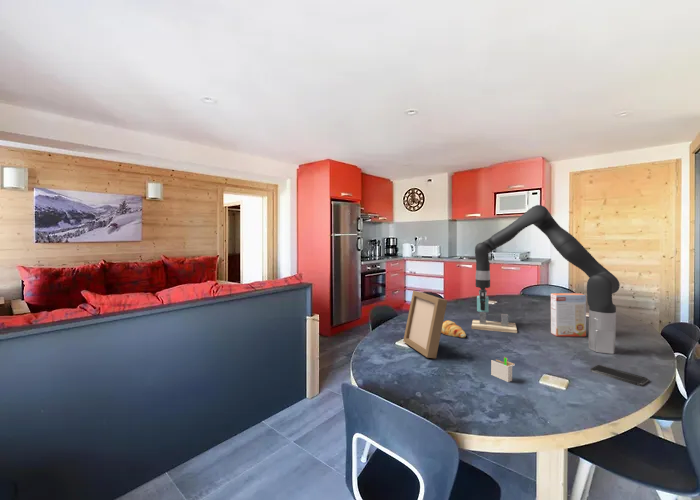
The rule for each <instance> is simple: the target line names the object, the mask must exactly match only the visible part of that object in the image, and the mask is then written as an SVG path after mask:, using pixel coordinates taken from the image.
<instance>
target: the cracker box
mask: <svg viewBox="0 0 700 500" xmlns="http://www.w3.org/2000/svg"><path fill="white" fill-rule="evenodd" d="M550 334H552V335H553V336H555V337H586V336H587V294H584V293H582V292H557V293H555V292H554V293H553V292H552V293H550Z"/></svg>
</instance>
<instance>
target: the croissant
mask: <svg viewBox="0 0 700 500" xmlns="http://www.w3.org/2000/svg"><path fill="white" fill-rule="evenodd" d="M441 334H443V335H445V336H450V337H456V338H458V337H459V338H461V339H462V338H466V336H467V334H466V331H464V330H463V328H462V327H461V326H460V325H458V324H456V323H455V322H454V321H452V320H448V319H446V320H445V321H443V326H442V331H441Z"/></svg>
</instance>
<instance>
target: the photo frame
mask: <svg viewBox="0 0 700 500" xmlns="http://www.w3.org/2000/svg"><path fill="white" fill-rule="evenodd" d="M409 304H410V305H409V311H408V314H407V320H406V325H405V330H404V336H403V342H404V343H405V344H406V345H407V346H410V347H411V348H412V349H413V350H415V351H417V352H418V353H420V354H421V355H422V356H424V357H426V358H428V359H429V358H430V359H437V355H438V352H439V351H438V350H439V345H440V342H441V341H440V340H441V334H442V333H441V331H442V326H443V322H444V319H445V315H446V309H447V305H448V300H447V299H444V298H441V297H437V296H434V295H432V294H428V293H425V292H422V291H417V290H412V296H411V300H410V303H409Z"/></svg>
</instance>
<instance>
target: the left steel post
mask: <svg viewBox="0 0 700 500" xmlns="http://www.w3.org/2000/svg"><path fill="white" fill-rule="evenodd" d="M479 320H480V324H484V325H486V321H487V312H479Z"/></svg>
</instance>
